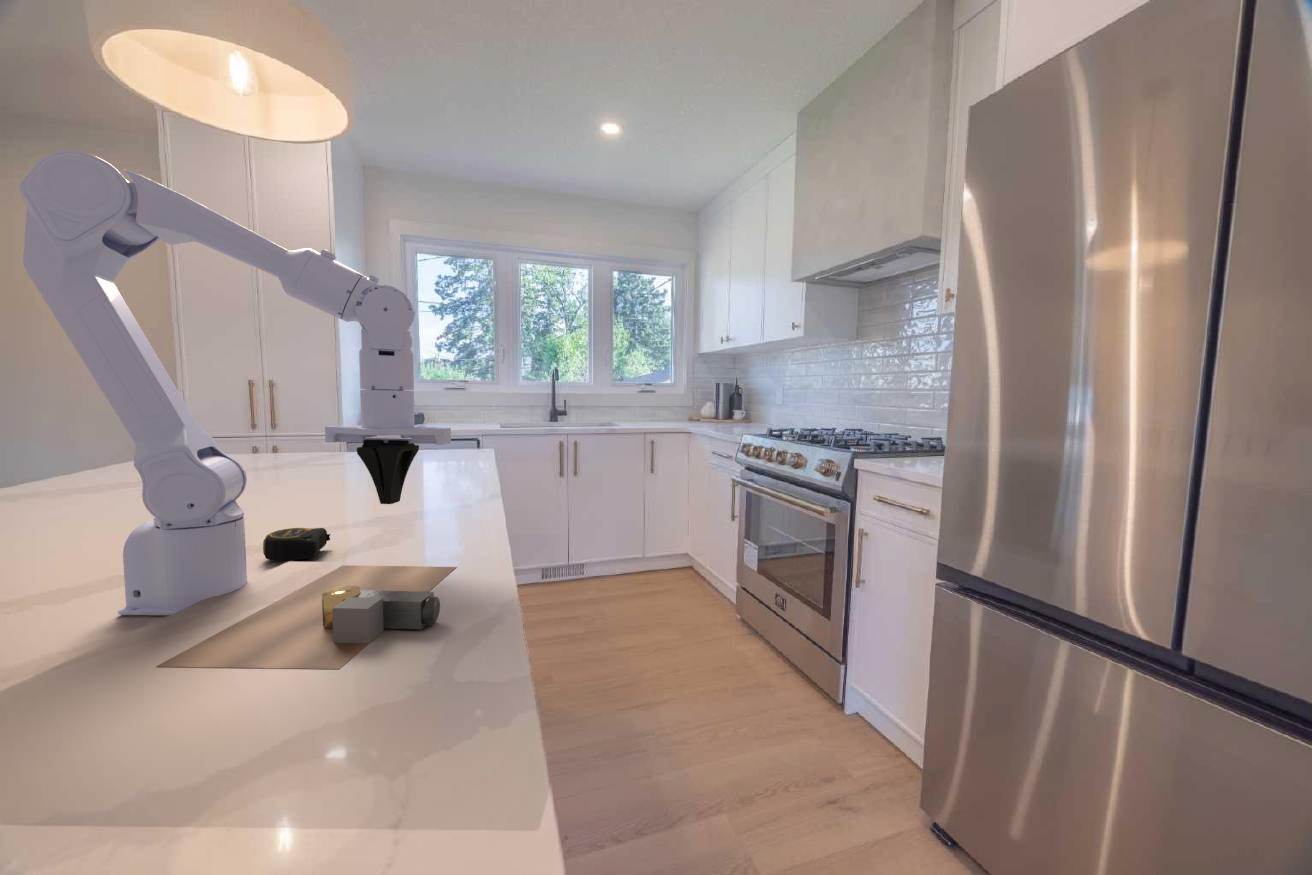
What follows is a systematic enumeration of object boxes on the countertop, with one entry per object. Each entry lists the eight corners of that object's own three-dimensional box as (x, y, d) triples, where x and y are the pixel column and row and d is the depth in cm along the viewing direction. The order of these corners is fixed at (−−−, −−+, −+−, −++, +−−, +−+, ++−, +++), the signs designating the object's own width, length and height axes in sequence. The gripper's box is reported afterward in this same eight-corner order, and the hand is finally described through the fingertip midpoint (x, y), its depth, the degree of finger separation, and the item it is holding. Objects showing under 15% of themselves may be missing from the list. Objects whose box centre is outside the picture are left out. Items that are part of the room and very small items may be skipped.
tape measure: (315, 564, 69) (314, 537, 69) (254, 569, 67) (253, 540, 66) (330, 550, 75) (330, 524, 75) (275, 553, 73) (274, 527, 73)
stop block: (333, 642, 44) (332, 608, 44) (350, 629, 46) (349, 597, 46) (368, 642, 44) (368, 608, 44) (383, 630, 46) (382, 597, 46)
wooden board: (156, 685, 40) (155, 666, 40) (342, 577, 64) (342, 565, 64) (339, 687, 40) (339, 668, 40) (457, 578, 64) (457, 566, 64)
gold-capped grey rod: (315, 627, 46) (314, 596, 46) (337, 613, 49) (336, 584, 49) (426, 631, 46) (425, 600, 46) (441, 616, 49) (441, 587, 49)
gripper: (304, 388, 58) (309, 507, 59) (430, 390, 58) (432, 511, 59) (345, 389, 65) (348, 496, 66) (457, 391, 65) (459, 499, 66)
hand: (390, 502), depth 63 cm, fingers closed
